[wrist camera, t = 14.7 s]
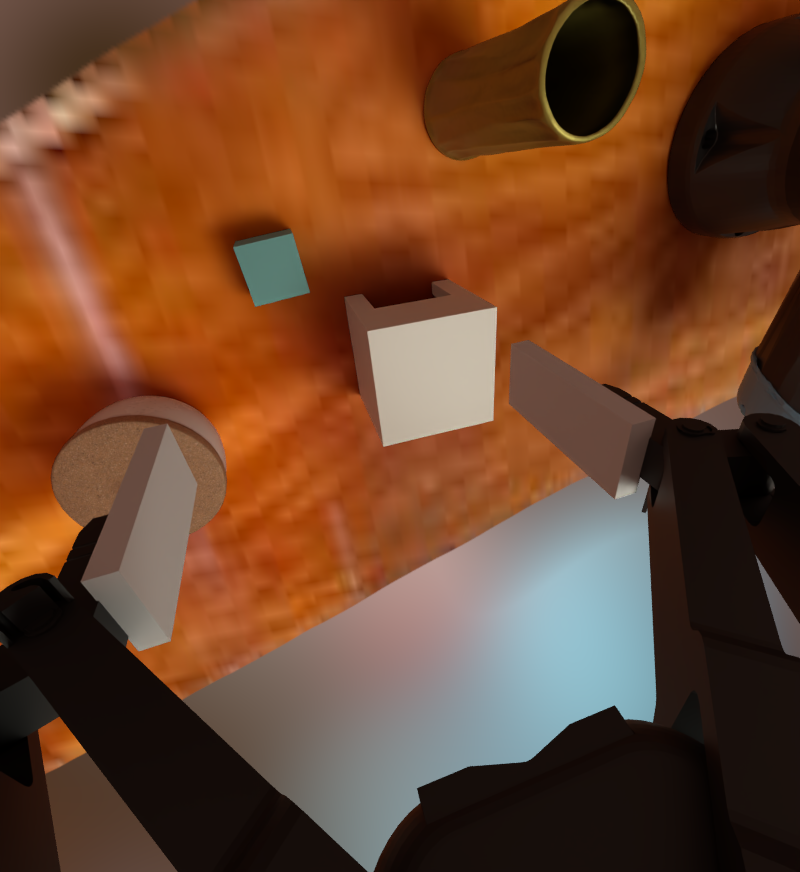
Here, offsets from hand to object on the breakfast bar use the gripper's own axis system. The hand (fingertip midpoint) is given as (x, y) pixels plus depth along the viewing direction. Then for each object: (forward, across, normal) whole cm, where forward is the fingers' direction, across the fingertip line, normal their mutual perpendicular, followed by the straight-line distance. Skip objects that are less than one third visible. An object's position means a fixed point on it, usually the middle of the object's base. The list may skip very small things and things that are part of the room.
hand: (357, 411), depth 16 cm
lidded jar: (+21, -14, -10) cm, 27 cm away
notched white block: (+21, +7, -6) cm, 23 cm away
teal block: (+21, -2, +2) cm, 21 cm away
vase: (+21, +14, +10) cm, 27 cm away
